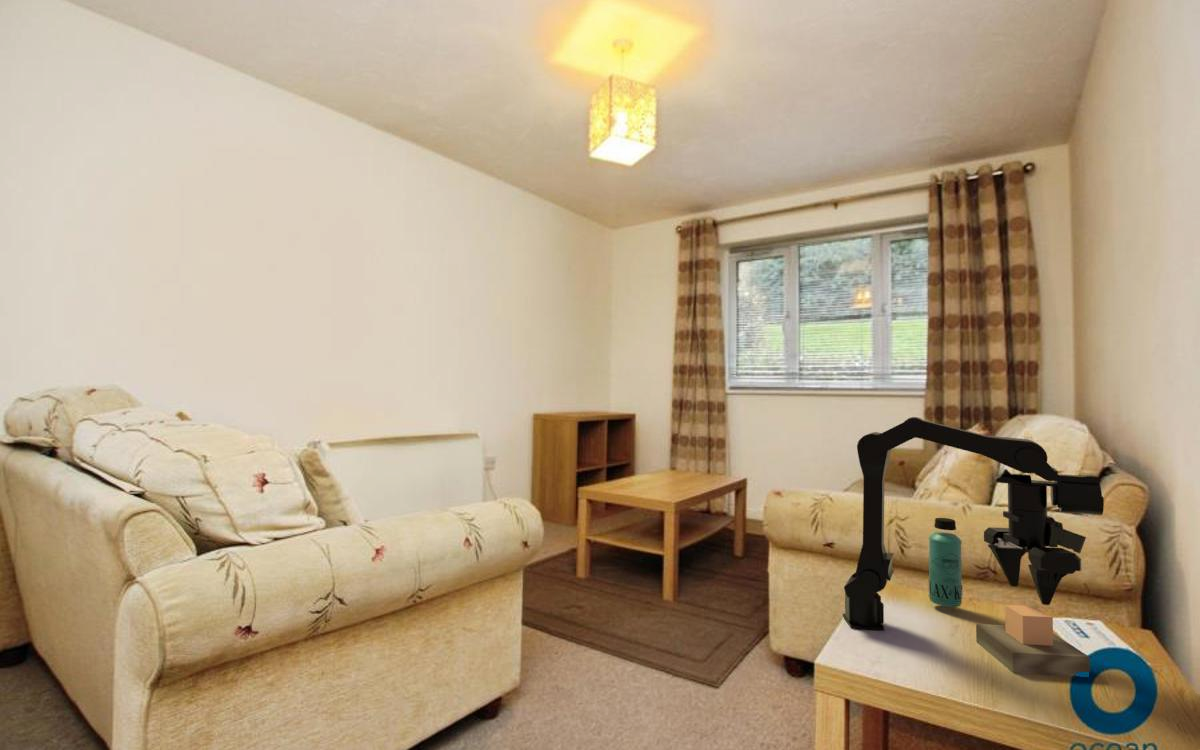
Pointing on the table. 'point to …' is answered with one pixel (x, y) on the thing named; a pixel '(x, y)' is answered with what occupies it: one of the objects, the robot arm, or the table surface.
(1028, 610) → the terracotta cube
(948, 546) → the beverage bottle
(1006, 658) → the dark box
